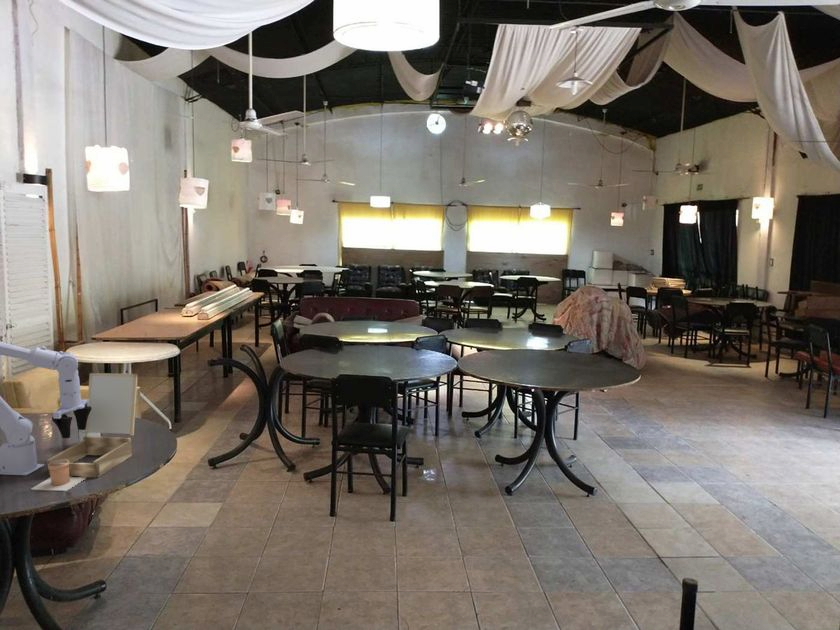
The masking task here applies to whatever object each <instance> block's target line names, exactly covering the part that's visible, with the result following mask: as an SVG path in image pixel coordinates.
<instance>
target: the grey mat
mask: <svg viewBox="0 0 840 630" xmlns="http://www.w3.org/2000/svg"><path fill="white" fill-rule="evenodd" d="M86 478H87V477H72V476H70V482H69V483H67V484H65V485H61V486H52V485H51V477H48V478H47V479H46V480H44V481H42V482H40V483H38V484H37V485H35V486H33V487H31V488H30V490H31V491H46V492H47V491H48V492H49V491H50V492H67V491H69V490H71V489H73V488H74V487H75V485H76V486H78V485H79V484H80V483H82V482H83V480H84V481H86V480H87V479H86ZM81 481H82V482H81ZM78 483H79V484H78ZM72 487H73V488H72Z"/></svg>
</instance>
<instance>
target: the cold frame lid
mask: <svg viewBox="0 0 840 630" xmlns="http://www.w3.org/2000/svg"><path fill="white" fill-rule="evenodd" d="M88 376H89V378H88V391H87V392H88V393H87V399H89V405H88V406H90V407H91V411H90V413H89V416H88V419H87V424H86V429H85V434H90V433H102V434H126V435H127V434H129V436H134V435H135V425H136V424H135V422H136V421H135V420H136V405H137V393H138V392H137V390H138V377H139V374H138V373H109V372H107V373H105V372H103V373H102V372H100V373H99V372H97V373H96V372H89V375H88Z"/></svg>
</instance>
